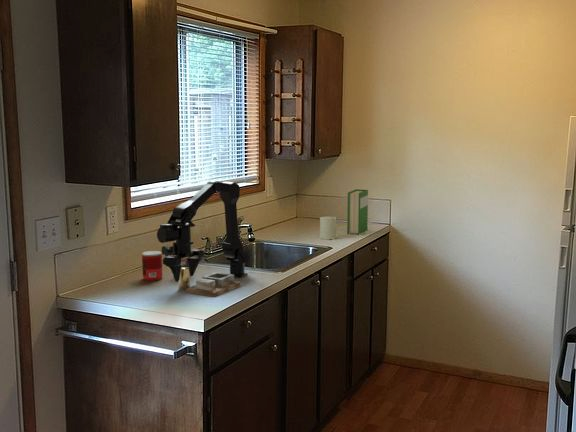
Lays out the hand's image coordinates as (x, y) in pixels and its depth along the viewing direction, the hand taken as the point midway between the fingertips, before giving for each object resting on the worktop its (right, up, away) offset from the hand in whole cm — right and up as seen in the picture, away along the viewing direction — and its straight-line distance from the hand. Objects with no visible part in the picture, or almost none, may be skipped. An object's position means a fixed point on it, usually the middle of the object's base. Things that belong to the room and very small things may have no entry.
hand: (184, 278), depth 246 cm
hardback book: (+81, +15, +123) cm, 148 cm away
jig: (+12, -4, 0) cm, 12 cm away
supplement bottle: (-4, -1, +19) cm, 20 cm away
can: (+62, +12, +104) cm, 122 cm away
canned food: (-16, -2, +16) cm, 22 cm away
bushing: (0, -4, 0) cm, 4 cm away
